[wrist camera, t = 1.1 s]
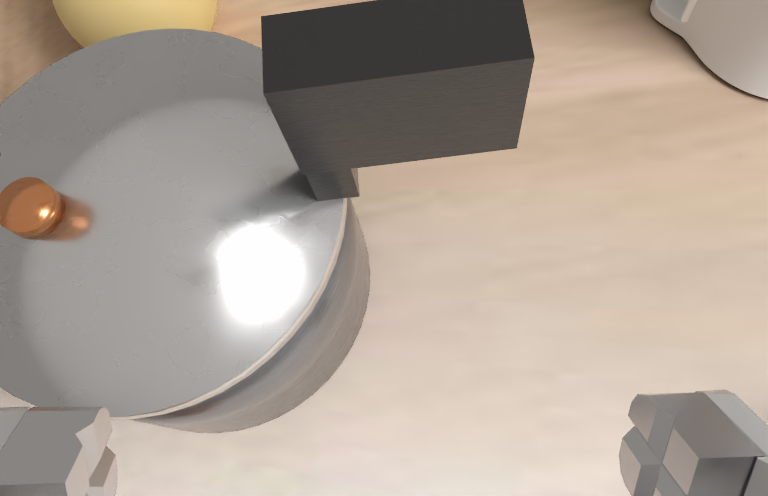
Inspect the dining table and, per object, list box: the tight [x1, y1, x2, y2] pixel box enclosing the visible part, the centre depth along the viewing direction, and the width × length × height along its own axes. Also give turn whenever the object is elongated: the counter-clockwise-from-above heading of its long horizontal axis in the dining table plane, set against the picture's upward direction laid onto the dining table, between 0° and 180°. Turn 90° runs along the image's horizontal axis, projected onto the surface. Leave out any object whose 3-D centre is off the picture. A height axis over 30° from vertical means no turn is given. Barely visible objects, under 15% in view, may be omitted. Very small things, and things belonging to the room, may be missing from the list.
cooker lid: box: [0, 0, 534, 420], centre depth 27 cm, size 28×21×11 cm
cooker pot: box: [129, 198, 370, 433], centre depth 39 cm, size 27×20×12 cm
